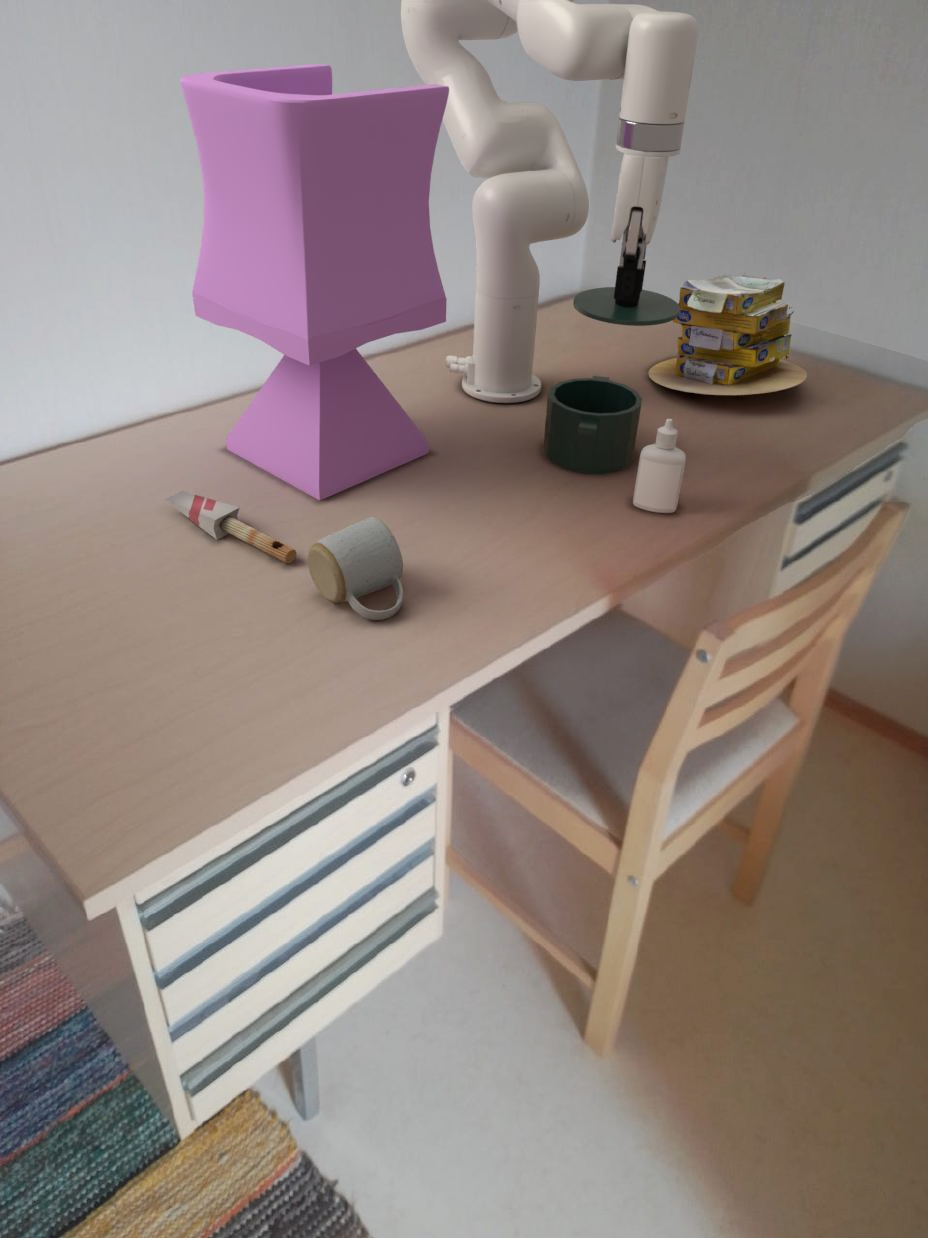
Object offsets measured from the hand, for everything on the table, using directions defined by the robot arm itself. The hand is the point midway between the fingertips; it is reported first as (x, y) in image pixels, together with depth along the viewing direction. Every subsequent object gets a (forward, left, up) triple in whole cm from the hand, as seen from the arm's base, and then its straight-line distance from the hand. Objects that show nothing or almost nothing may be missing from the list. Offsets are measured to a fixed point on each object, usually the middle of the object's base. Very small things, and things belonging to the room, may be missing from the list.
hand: (627, 294), depth 122 cm
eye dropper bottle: (+8, -14, -22) cm, 27 cm away
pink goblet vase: (-37, -11, -22) cm, 45 cm away
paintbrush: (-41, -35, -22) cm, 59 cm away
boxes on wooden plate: (+17, +31, -22) cm, 42 cm away
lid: (0, 0, -2) cm, 2 cm away
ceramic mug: (-22, -43, -22) cm, 53 cm away
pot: (-2, -1, -22) cm, 22 cm away
